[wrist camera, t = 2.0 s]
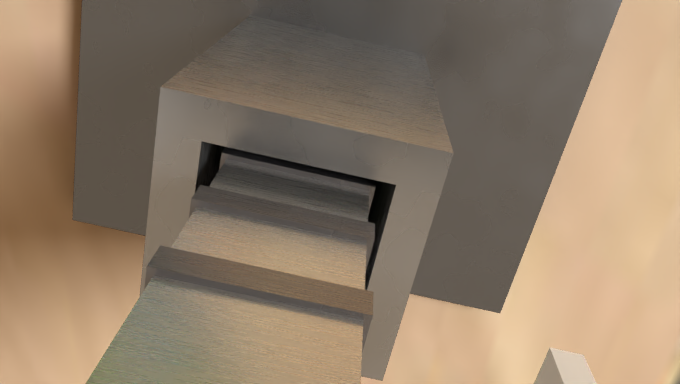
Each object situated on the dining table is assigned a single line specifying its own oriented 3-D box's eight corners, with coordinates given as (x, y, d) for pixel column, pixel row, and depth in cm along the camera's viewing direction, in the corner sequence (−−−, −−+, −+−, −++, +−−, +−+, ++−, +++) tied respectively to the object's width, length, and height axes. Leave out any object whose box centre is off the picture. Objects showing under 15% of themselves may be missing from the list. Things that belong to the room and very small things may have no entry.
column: (280, 62, 27) (1, 486, 7) (377, 85, 27) (367, 561, 7) (264, 153, 29) (3, 697, 9) (355, 174, 29) (299, 754, 9)
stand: (100, -132, 26) (-150, -170, 14) (614, -10, 27) (811, 57, 14) (82, 209, 32) (-98, 389, 20) (496, 300, 33) (562, 526, 21)
